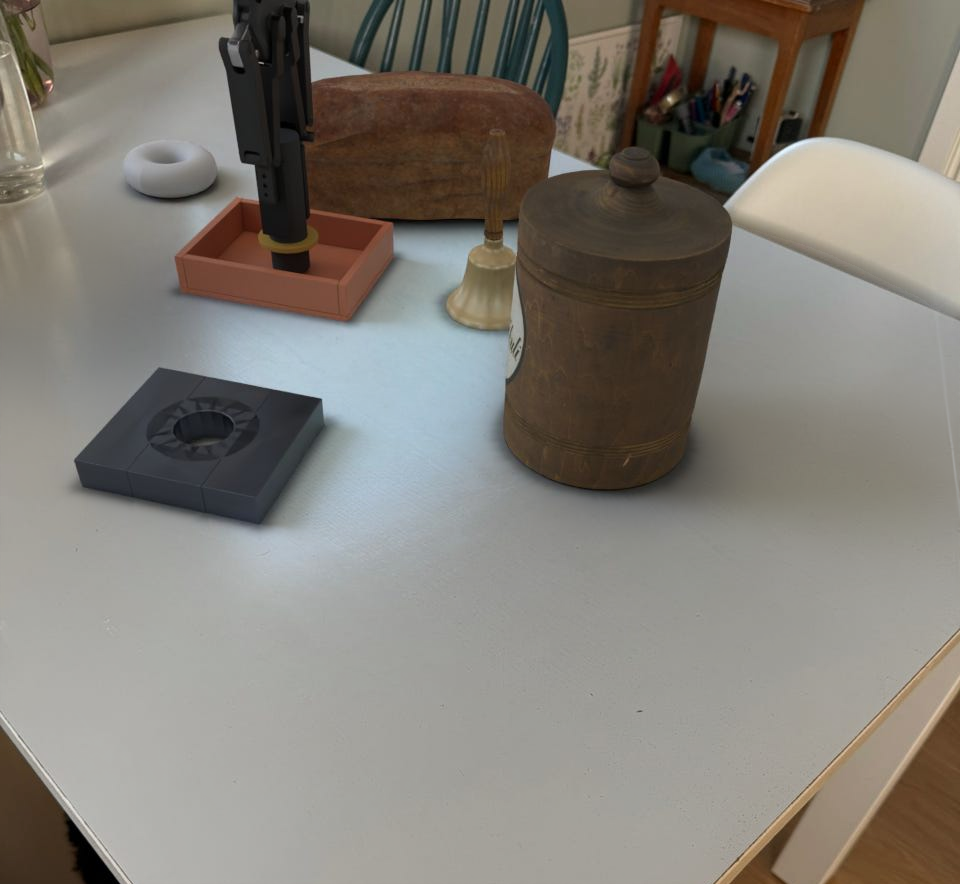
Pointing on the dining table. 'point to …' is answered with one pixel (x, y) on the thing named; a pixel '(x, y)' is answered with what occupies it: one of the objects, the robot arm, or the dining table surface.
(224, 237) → the terracotta tray
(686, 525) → the dining table surface
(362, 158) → the bread
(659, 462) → the wooden container
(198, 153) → the donut
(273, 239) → the plug
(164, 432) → the drain plate
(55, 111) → the dining table surface
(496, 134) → the hand bell
